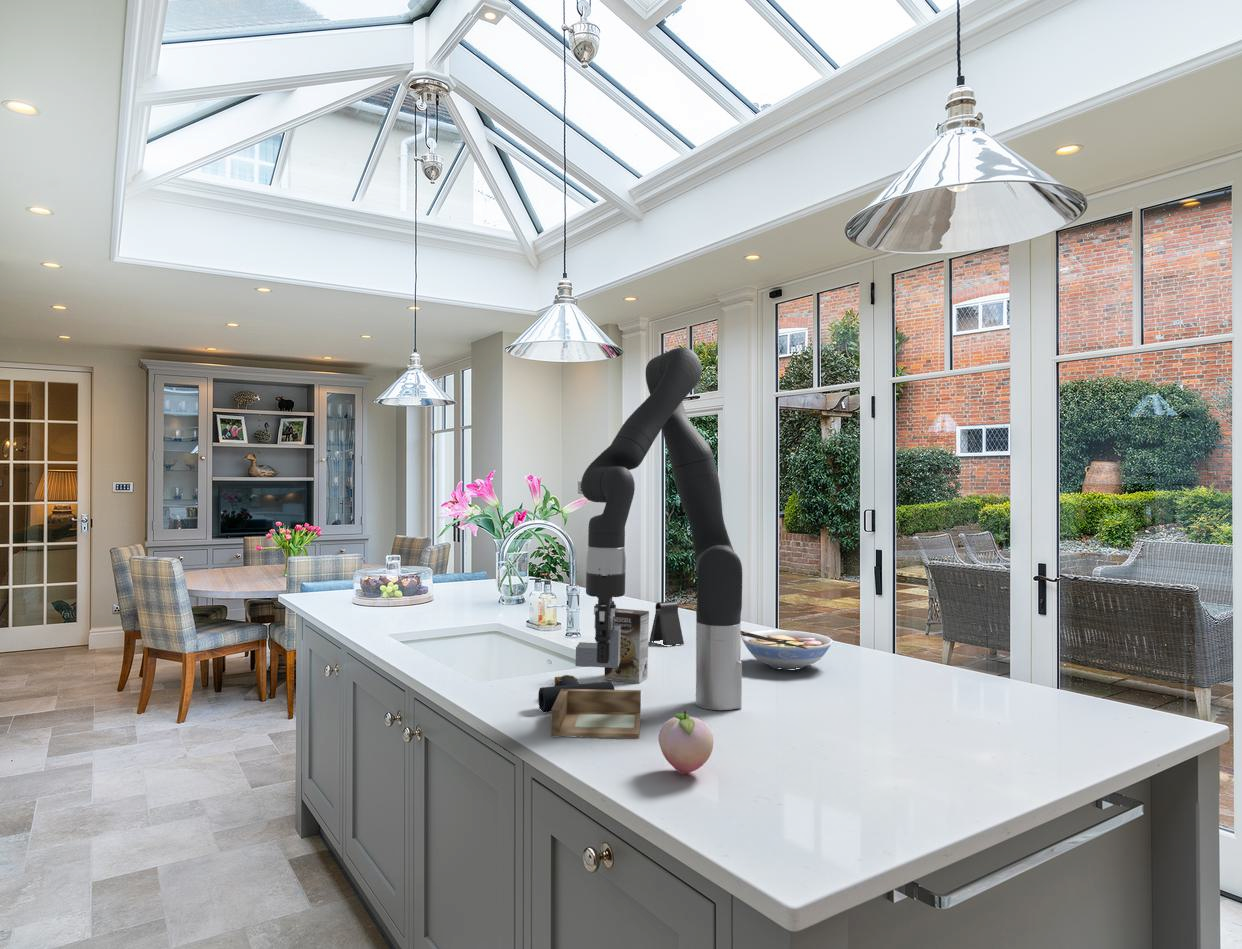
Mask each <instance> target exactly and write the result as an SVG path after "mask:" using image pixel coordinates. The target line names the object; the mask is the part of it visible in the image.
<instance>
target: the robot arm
mask: <svg viewBox="0 0 1242 949" xmlns="http://www.w3.org/2000/svg"><path fill="white" fill-rule="evenodd" d="M702 367H703V366H702V362H701V360H700V358H699V356H698V355H697V353H696V352H694V351H693V350H692V349H690V348H688V347H677V348H673V349H671V350H669V351H666V352H663V353H662V354H659V355H657V356H655V357H653V358H652V359H650V360H649V361H648V362H647V364H646V367H645V382H646V386H647V389H648V392H649V396H647V398H646V399H645V400H644V401H643V402H642V403H641V404H640V405H639V406H638V407H637V408H636V409H635V410H634V411H633V412H632V413H631V414H630V415H629V416H628V418H627V419H626V420H625V422H624V423H623V424H622V425H621V428H620V429H619V430H618V432H617V433H616V435H615V437H614V438H613V440H612V442H611V443H610V445H609V446H608V447H607V448H606V449H604V450H603V451H602V452H601V453H600V454H599V455H598V456H597V457H596V458H595V459H594V460H593V461H592V462H591V463H590V464H589V465H588V466H587V468H586V469H585V471H584V473H583V475H582V477H581V482H580V489H581V493H582V495H583V496H584V498H585V499H586V500H587V501H590V502H594V503H604V504H605V506H604V509H603V512H602V513H601V514H597V515H594V516H592V517H590V520H589V521H588V527H587V528H588V531H587V532H588V538H587V539H588V542H587V545H588V546H587V552H586V561H585V562H586V563H585V564H586V566H585V567H586V569H585V570H586V571H585V572H586V573H585V576H586V577H585V594H586V595H588V596H590V597H593V598H594V597H596V598H597V603H595V605H594V606H593V614H594V630H595V635H594V640H595V643H597V662H598V663H608V661H609V643H610V631H611V630H613V626H614V624H615V613H616V608H617V604H615V601H614V600H613V598H619V597H620V598H621V597H623V596H624V595H625V594H626V568H627V567H626V565H627V564H626V558H627V557H626V548H625V547H626V544H625V543H626V542H625V541H626V524H627V521H628V517H629V514H630V509H631V507H632V504H633V503H632V502H633V500H634V495H635V488H636V485H635V480H634V476H633V474H632V472H631V470H635V469H637V468H638V467H639V466H640V465H641V464H642V462H643V460H644V459H645V458H646V456H647V454H648V452H649V451H650V449H651V446H652V445H653V443H654V441H655V440H656V439H657V437H658V435H659V434H660V432H662V434H663V438H664V441H665V442H664V443H665V446H666V449H667V453H668V457H669V462H670V467H671V471H672V476H673V480H674V483H675V487H676V491H677V494H678V496H679V500H680V502H681V505H682V508H683V512H684V513H685V516H686V518H687V521H688V523H689V528H690V531H691V535H692V536H691V537H692V541H693V548H694V558H695V568H696V584H697V585H696V592H697V593H696V608H695V615H696V616H695V617H696V619H695V621H696V624H695V625H696V628H695V630H696V631H695V632H696V633H695V644H696V646H695V649H696V650H695V704H696V706H698V707H700V708H702V709H705V710H712V711H728V710H729V711H730V710H736V709H742V708H743V706H742V696H743V694H742V692H743V689H742V688H743V685H742V683H743V682H742V681H743V679H742V678H743V670H742V669H743V662H742V660H741V640H742V638H741V636H742V635H741V631H742V630H741V626H742V625H741V621H742V620H741V616H742V615H741V614H742V609H743V608H742V607H743V567H742V566H743V564H742V562H741V558H740V557H739V555H738V554H737V553H736V552H735V550H734V547H733V545H732V542H731V540H730V536H729V533H728V530H727V527H726V524H725V521H724V520H725V519H724V515H723V503H722V491H721V486H720V485H721V483H720V478H719V473H718V470H717V464H716V460H715V457H714V454H713V450H712V448H711V447H710V444H709V443H708V442H707V440H706V439H705V438H704V436H702V434H700V432H699V431H698V430H697V429H696V428H695V426H694V425H693V424H692V422H691V421H690V419H689V417H688V415H687V413H686V410H685V406H684V402H683V401H684V400H685V398H687V396H688V395H689V394H691V392H692V391H693V390H694V388H695V387H696V386H697V385H698V384H699V381H700V380H701V377H702V371H703V369H702Z"/></svg>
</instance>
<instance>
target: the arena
mask: <svg viewBox="0 0 1242 949" xmlns="http://www.w3.org/2000/svg"><path fill="white" fill-rule="evenodd" d="M641 692H642V690H641V689H640V690H639V689H637V690H636V689H615V690H598V689H561V690H560V692H559V694H558V697H557V699H556V701H555V703H554V705H553V707H552V709H551V712H550V737H551V736H576V737H575V738H597V737H615V738H614V739H640V728H641V715H642V713H641V711H642V710H641V709H642V704H641V702H642V700H641V699H642V698H641V697H642V696H641V695H642V694H641ZM581 736H582V737H581Z"/></svg>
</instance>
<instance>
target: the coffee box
mask: <svg viewBox="0 0 1242 949" xmlns="http://www.w3.org/2000/svg"><path fill="white" fill-rule="evenodd" d="M649 620H650V611H649V610H640V609H626V608H618V607H616V613H615V624H614V626H621V641H620V663H619V666H618V668H607V667H604V674H603V676H604V678H603V679H604V680H606V679H611V680H610V681H615V680H618V681H617V682H624V681H628V682H627V683H632V682H637V683H636V684H640V683H642V682H643V681H645V680H647V679H648V678H649V628H650V627H649ZM647 677H648V678H647ZM646 678H647V679H646ZM644 679H645V680H644ZM641 681H642V682H641Z"/></svg>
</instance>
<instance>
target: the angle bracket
mask: <svg viewBox="0 0 1242 949" xmlns="http://www.w3.org/2000/svg"><path fill="white" fill-rule="evenodd" d="M620 641H621V626H613V630H611V631H610V643H609V661H608V663H598V662H597V643H596V642H583V641H582V642H578V644H577V645H576V646H575V667H586V668H587V667H589V668H605V667H607V668H618V666H619V663H620Z"/></svg>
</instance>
